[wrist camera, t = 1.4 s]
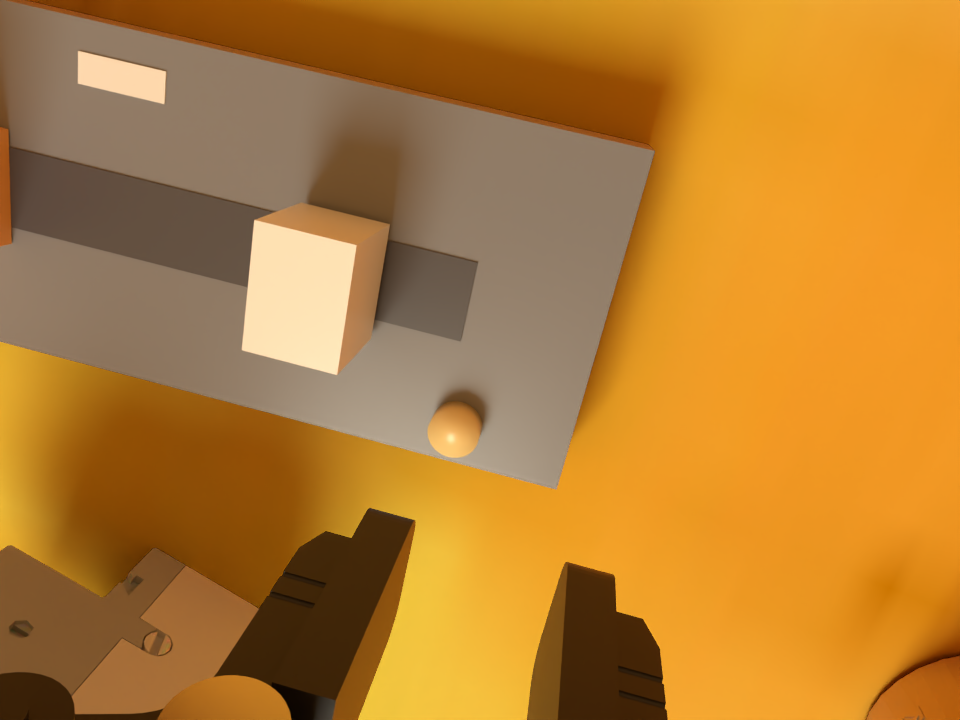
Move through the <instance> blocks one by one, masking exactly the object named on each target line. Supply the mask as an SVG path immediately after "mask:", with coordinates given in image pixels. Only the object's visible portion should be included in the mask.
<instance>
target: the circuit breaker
mask: <svg viewBox="0 0 960 720" xmlns="http://www.w3.org/2000/svg"><path fill="white" fill-rule="evenodd" d="M258 610H259V608H257V607H255V606H254V605H252V604H250V603H249V602H247V601H245V600H244V599H242V598H240V597H238V596H237V595H235V594H233V593H232V592H230V591H228V590H227V589H225V588H223V587H222V586H220V585H218V584H216V583H215V582H213V581H211V580H210V579H208V578H206V577H205V576H203V575H201V574H200V573H198V572H196V571H194V570H193V569H191V568H189V567H188V566H185V565H184V564H183V563H181V562H179V561H177V560H176V559H174V558H172V557H171V556H169V555H167V554H166V553H164V552H162V551H160V550H159V549H157V548H153V549H152V550H151V551H150V552H149V553H148V554H147V555H146V556H145V557H144V558H143V559H142V560H141V561H140V562H139V563H138V564H137V565H136V566H135V567H134V568H133V569H132V570H131V571H130V572H129V574H128V576H127V578H126V579H125V580H124V581H123V582H122V583H121V582H119V583H118V584H117V585H116V586H115V587H114V588H113V589H112V591H111V592H110V593H109V594H108V595H107V596H105V597H103V598H102V597H100V596H98V595H97V594H95V593H93V592H91V591H90V590H88V589H86V588H85V587H83V586H81V585H79V584H78V583H76V582H74V581H72V580H71V579H69V578H67V577H65V576H64V575H62V574H60V573H59V572H57V571H55V570H53V569H52V568H50V567H48V566H46V565H45V564H43V563H41V562H39V561H38V560H36V559H34V558H33V557H31V556H29V555H27V554H26V553H24V552H22V551H20V550H19V549H17V548H15V547H13V546H7V547H5V548H4V549H3V550H1V551H0V674H3V673H12V672H30V673H36V674H42V675H45V676H48V677H51V678H53V679H54V680H56V681H58V682H60V683H61V684H62V685H63V686H64V687H65V688H67V690H68V691H69V693H70V694H71V696H72V699H73V702H74V707H75V714H134V713H145V712H151V711H157V710H160V709H163V708H164V707H165V706H166V705H167V704H168V703H169V701H170V700H171V699H172V698H173V697H174V696H176V695H177V694H178V693H179V692H181V691H182V690H184V689H185V688H187V687H189V686H190V685H192V684H195V683H197V682H199V681H202V680H205V679H208V678H212V677H214V676H215V674H216V673H217V672H218V670H219V669H220V667H221V666H222V664H223V663H224V661H225V660H226V658H227V657H228V655H229V654H230V652H231V651H232V649H233V648H234V646H235V645H236V643H237V641H238V640H239V638H240V637H241V635H242V634H243V632H244V631H245V629H246V628H247V626H248V625H249V623H250V622H251V620H252V619H253V617H254V616H255V614H256V613H257V611H258Z"/></svg>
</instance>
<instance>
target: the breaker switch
mask: <svg viewBox="0 0 960 720" xmlns="http://www.w3.org/2000/svg"><path fill="white" fill-rule="evenodd" d="M389 228H390V224H387V223H383V222H379V221H375V220H370V219H366V218H362V217H358V216H354V215H350V214H346V213H342V212H338V211H334V210H330V209H326V208H322V207H317V206H313V205H309V204H305V203H299V204H296V205H294V206H291V207H288V208H285V209H283V210H280V211H277V212H274V213H272V214H269V215H266V216H264V217H261V218H258V219H255V220H254V228H253V238H252V249H251V259H250V270H249V280H248V290H247V301H246V311H245V321H244V332H243V342H242V350H243V351H247V352H250V353H254V354H258V355H262V356H266V357H270V358H273V359H277V360H281V361H285V362H289V363H293V364H296V365H300V366H304V367H308V368H312V369H316V370H319V371H323V372H327V373H331V374H335V375H338V374H339V372H340V371H341V370H342V369H343V368H344V367H345V366H346V365H347V364H348V363H349V362H350V361H351V360H352V358H353V357H354V356H355V355H356V354H357V353H358V352H359V351H360V350H361V349H362V348H363V347H364V346H365V344H366V343H367V342H368V341H369V340H370V339H371V336H372V330H373V324H374V318H375V312H376V306H377V300H378V294H379V288H380V282H381V276H382V270H383V264H384V258H385V252H386V246H387V240H388V234H389Z"/></svg>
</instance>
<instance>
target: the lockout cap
mask: <svg viewBox="0 0 960 720" xmlns="http://www.w3.org/2000/svg"><path fill="white" fill-rule="evenodd" d="M8 244H12V238H11V203H10V167H9V132H8V129H6V128H2V127H0V246H4V245H8Z"/></svg>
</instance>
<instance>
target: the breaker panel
mask: <svg viewBox="0 0 960 720" xmlns="http://www.w3.org/2000/svg"><path fill="white" fill-rule="evenodd" d="M0 127H2V128H6V129H8V132H9V167H10V203H11V238H12V244H8V245H4V246H0V342H4V343H8V344H12V345H15V346H19V347H23V348H27V349H31V350H34V351H38V352H42V353H46V354H49V355H53V356H57V357H61V358H64V359H68V360H72V361H76V362H79V363H83V364H87V365H91V366H94V367H98V368H102V369H106V370H109V371H113V372H117V373H121V374H124V375H128V376H132V377H136V378H139V379H143V380H147V381H151V382H155V383H158V384H162V385H166V386H170V387H173V388H177V389H181V390H185V391H188V392H192V393H196V394H200V395H203V396H207V397H211V398H215V399H218V400H222V401H226V402H230V403H233V404H237V405H241V406H245V407H248V408H252V409H256V410H260V411H263V412H267V413H271V414H275V415H278V416H282V417H286V418H290V419H294V420H297V421H301V422H305V423H309V424H312V425H316V426H320V427H324V428H327V429H331V430H335V431H339V432H342V433H346V434H350V435H354V436H357V437H361V438H365V439H369V440H372V441H376V442H380V443H384V444H387V445H391V446H395V447H399V448H402V449H406V450H410V451H414V452H418V453H421V454H425V455H429V456H433V457H436V458H440V459H444V460H448V461H451V462H455V463H459V464H463V465H466V466H470V467H474V468H478V469H481V470H485V471H489V472H493V473H496V474H500V475H504V476H508V477H511V478H515V479H519V480H523V481H526V482H530V483H534V484H538V485H542V486H545V487H549V488H553V489H557V486H558V482H559V479H560V476H561V472H562V469H563V465H564V462H565V458H566V455H567V452H568V448H569V445H570V441H571V438H572V434H573V431H574V427H575V424H576V421H577V417H578V414H579V410H580V407H581V403H582V400H583V397H584V393H585V390H586V386H587V383H588V379H589V376H590V373H591V369H592V366H593V362H594V359H595V355H596V352H597V348H598V345H599V342H600V338H601V335H602V331H603V328H604V324H605V321H606V318H607V314H608V311H609V307H610V304H611V300H612V297H613V293H614V290H615V287H616V283H617V280H618V276H619V273H620V269H621V266H622V263H623V259H624V256H625V252H626V249H627V245H628V242H629V239H630V235H631V232H632V228H633V225H634V221H635V218H636V214H637V211H638V208H639V204H640V201H641V197H642V194H643V190H644V187H645V184H646V180H647V177H648V173H649V170H650V166H651V163H652V160H653V156H654V153H655V151H654V150H653V149H652V148H651V147H650V146H649V145H648V144H644V143H640V142H635V141H631V140H627V139H622V138H618V137H614V136H609V135H605V134H601V133H597V132H592V131H588V130H584V129H579V128H575V127H571V126H566V125H562V124H558V123H553V122H549V121H545V120H540V119H536V118H532V117H528V116H523V115H519V114H515V113H510V112H506V111H502V110H497V109H493V108H489V107H484V106H480V105H476V104H471V103H467V102H463V101H459V100H454V99H450V98H446V97H441V96H437V95H433V94H428V93H424V92H420V91H415V90H411V89H407V88H402V87H398V86H394V85H389V84H385V83H381V82H377V81H372V80H368V79H364V78H359V77H355V76H351V75H346V74H342V73H338V72H333V71H329V70H325V69H320V68H316V67H312V66H308V65H303V64H299V63H295V62H290V61H286V60H282V59H277V58H273V57H269V56H264V55H260V54H256V53H251V52H247V51H243V50H239V49H234V48H230V47H226V46H221V45H217V44H213V43H208V42H204V41H200V40H195V39H191V38H187V37H182V36H178V35H174V34H169V33H165V32H161V31H157V30H152V29H148V28H144V27H139V26H135V25H131V24H126V23H122V22H118V21H113V20H109V19H105V18H100V17H96V16H92V15H88V14H83V13H79V12H75V11H70V10H66V9H62V8H57V7H53V6H49V5H44V4H40V3H36V2H31V1H27V0H0ZM299 203H305V204H309V205H313V206H317V207H322V208H326V209H330V210H334V211H338V212H342V213H346V214H350V215H354V216H358V217H362V218H366V219H370V220H375V221H379V222H383V223H387V224H390V228H389V234H388V240H387V246H386V252H385V258H384V264H383V270H382V276H381V282H380V288H379V294H378V300H377V306H376V312H375V318H374V324H373V330H372V336H371V339H370V340H369V341H368V342H367V343H366V344H365V346H364V347H363V348H362V349H361V350H360V351H359V352H358V353H357V354H356V355H355V356H354V357H353V358H352V360H351V361H350V362H349V363H348V364H347V365H346V366H345V367H344V368H343V369H342V370H341V371H340V372H339V374H338V375H335V374H331V373H327V372H323V371H319V370H316V369H312V368H308V367H304V366H300V365H296V364H293V363H289V362H285V361H281V360H277V359H273V358H270V357H266V356H262V355H258V354H254V353H250V352H247V351H243V350H242V342H243V332H244V321H245V311H246V301H247V290H248V280H249V270H250V259H251V249H252V238H253V228H254V220H255V219H258V218H261V217H264V216H266V215H269V214H272V213H274V212H277V211H280V210H283V209H285V208H288V207H291V206H294V205H296V204H299Z"/></svg>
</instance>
